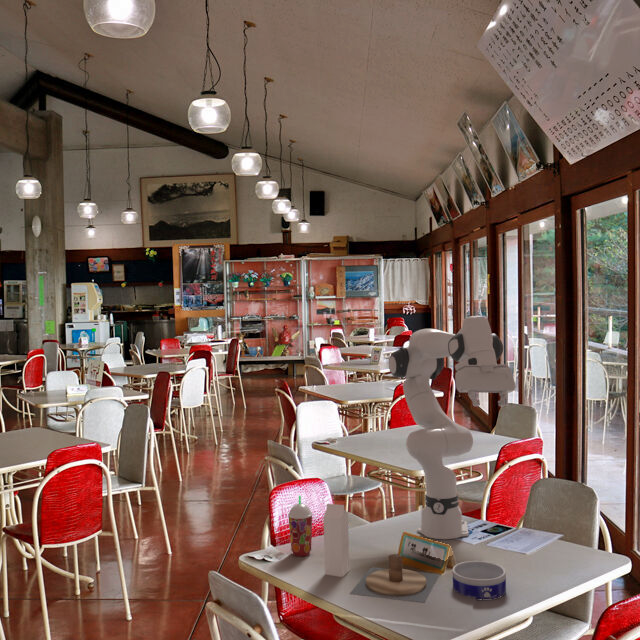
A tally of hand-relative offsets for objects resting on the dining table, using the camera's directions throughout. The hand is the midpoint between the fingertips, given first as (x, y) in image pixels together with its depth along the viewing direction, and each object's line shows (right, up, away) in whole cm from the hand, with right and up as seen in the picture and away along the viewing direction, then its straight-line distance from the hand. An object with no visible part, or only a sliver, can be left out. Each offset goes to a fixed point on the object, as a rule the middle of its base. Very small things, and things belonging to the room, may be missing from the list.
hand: (489, 405), depth 220 cm
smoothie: (-59, -53, +20) cm, 83 cm away
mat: (-30, -53, -10) cm, 62 cm away
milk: (-48, -53, +1) cm, 71 cm away
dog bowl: (-7, -52, -15) cm, 55 cm away
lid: (-30, -52, -10) cm, 61 cm away
